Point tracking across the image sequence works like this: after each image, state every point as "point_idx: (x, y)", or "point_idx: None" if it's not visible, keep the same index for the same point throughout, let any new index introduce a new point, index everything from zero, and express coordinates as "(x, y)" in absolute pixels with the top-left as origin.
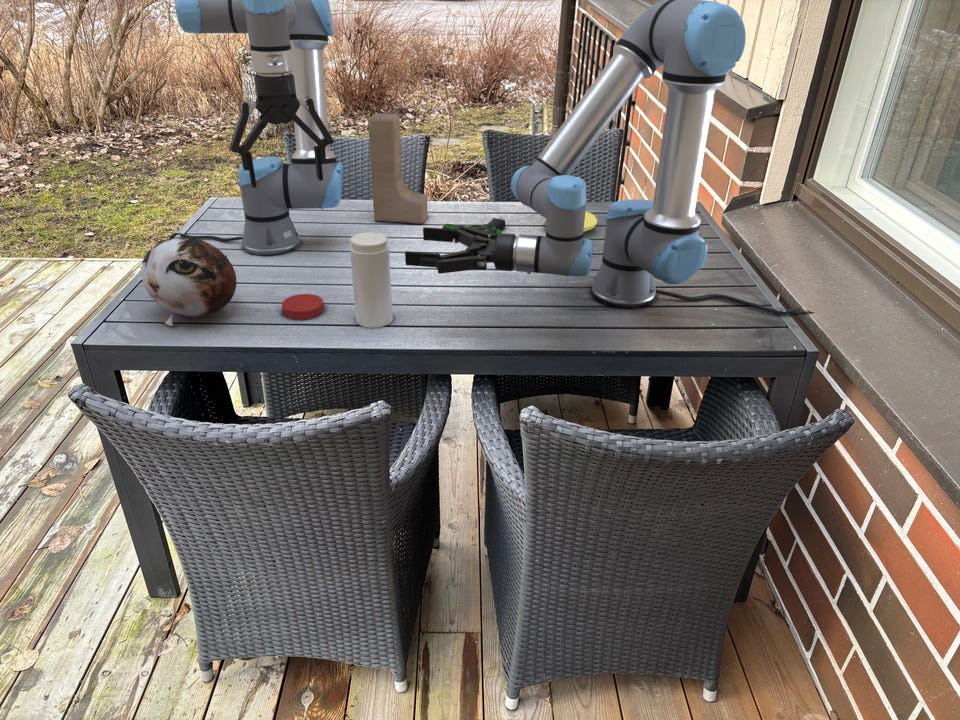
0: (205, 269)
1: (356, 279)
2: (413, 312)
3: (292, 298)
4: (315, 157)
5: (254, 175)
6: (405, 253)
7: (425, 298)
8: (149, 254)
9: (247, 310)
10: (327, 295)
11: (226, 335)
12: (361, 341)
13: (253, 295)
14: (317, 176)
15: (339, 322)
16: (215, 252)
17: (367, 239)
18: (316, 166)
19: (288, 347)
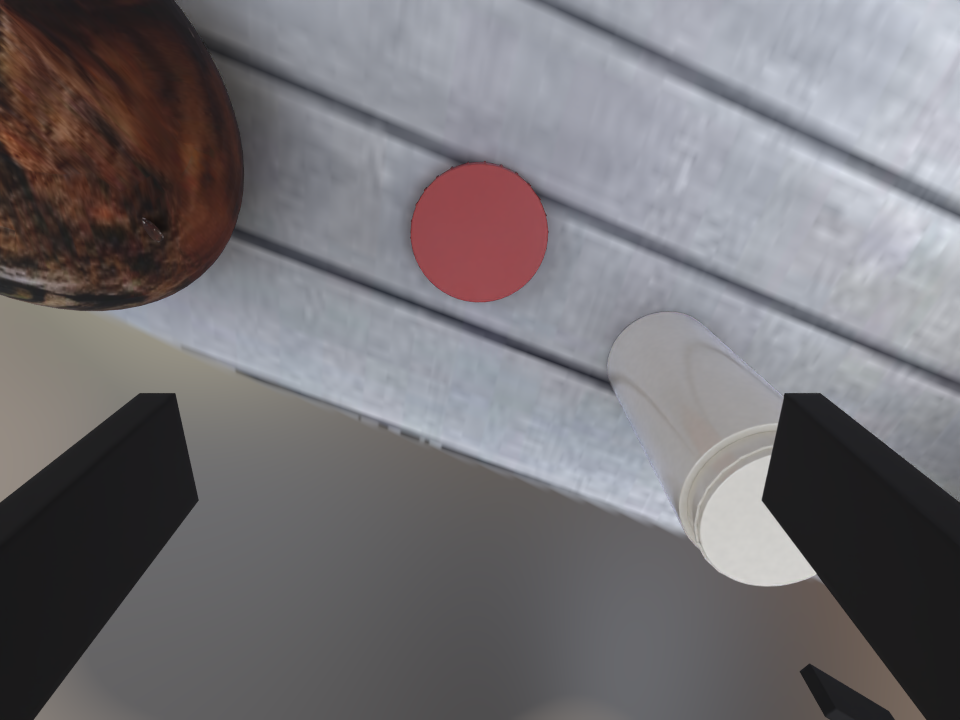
0: (87, 296)
1: (649, 461)
2: (781, 363)
3: (452, 190)
4: (920, 562)
5: (137, 578)
6: (824, 715)
7: (866, 287)
8: None
9: (302, 157)
10: (583, 138)
11: (240, 307)
12: (583, 462)
13: (327, 27)
14: (785, 431)
15: (562, 346)
16: (99, 193)
17: (772, 529)
18: (844, 491)
19: (401, 428)
